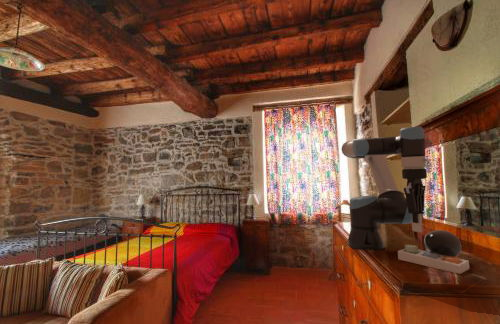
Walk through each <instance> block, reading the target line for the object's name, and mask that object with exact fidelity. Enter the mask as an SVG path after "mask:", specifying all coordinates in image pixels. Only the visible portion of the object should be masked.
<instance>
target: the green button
mask: <svg viewBox="0 0 500 324" xmlns="http://www.w3.org/2000/svg"><path fill="white" fill-rule="evenodd" d="M404 249H405V252H409V253H414V254H417V253H418V250H419V246H417V245H413V244H405V245H404Z"/></svg>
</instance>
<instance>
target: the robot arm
mask: <svg viewBox="0 0 500 324" xmlns="http://www.w3.org/2000/svg"><path fill="white" fill-rule="evenodd" d="M425 137H426V136H425V131H424V128H423V126H422V127H421V126H410V127H409V126H408V127H403V128H401V129H400V130H399V134H398V136H396V135H395V136H382V137H368V138H367V137H366V138H364V137H363V138H362V137H361V138H355V139H354V138H353V139H350V140H349V139H348V140H347V141H345V142H343V144H342V146H341V153H342V154H343V156H344V157H346V158H351V159H363V160H364V161H365V163H367V164H368V165H369V168H370V171H371V174H372V177H373V181H374V183H375V187H376V189H377V193H378V195H377V196H376V195H373V194H369V195H360V196H354V197H351V198H350V200H349V217H350V220H349V221H350V231H349V235H348V239H347V245H348V247H350V248H352V249H355V250H364V251H365V250H366V251H379V250H383V249H385V244H384V243H385V242H384V240H383V238H382V235H381V233H380V231H379V230H380V229H379V224H380V225H381V224H383V225H407V224H411V225H412V226H411V229H412V232H416V233H417V232H418V233H423V217H422V214H423V215H425V197H426V196H425V195H426V194H425V192H426V185H424V184H423V180H425V179H427V178H428V174H427V173H428V172H427V169H426V168H425V167H427V161H428V159H427V158H426V141H425V140H426V139H425ZM389 155H395V156H396V155H400V158H401V159H400V160H401V161H400V162H401V168H402V169H401V173H402V174H401V176H402V179H404V180H406V187H403V191H404V192H403V191H401V190H399V188H398V186H397V184H396V182H395V178H394V176H393V173H392V172H391V169H390V166H389V164H388V161H387V157H388V156H389Z"/></svg>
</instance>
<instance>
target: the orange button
mask: <svg viewBox="0 0 500 324" xmlns="http://www.w3.org/2000/svg"><path fill="white" fill-rule="evenodd" d="M460 259H461V258H459V257H458V256H456V257H453V256H444V261H447V262H452V263H456V264H459V263H460Z"/></svg>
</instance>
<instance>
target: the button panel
mask: <svg viewBox="0 0 500 324" xmlns="http://www.w3.org/2000/svg"><path fill="white" fill-rule="evenodd" d="M425 251H426V250H423V249H418V253H417V254H414V253H409V252H405V248H403V249H399V250H397V259H398V261H400V260H401V261H405V262H409V263H413V264H417V265H421V266H425V267H428V268H434V269H439V270H442V271H447V272H450V273H454V274H462V273H464V272H466V271H469V270H470V261H469V260H467V259H465V258H464V259H463V258H459V259H460V263H459V264H456V263H452V262H447V261H444V256H445V255H441V254H438V258H436V259H435V258H431V257H426V256H424V253H423V252H425Z"/></svg>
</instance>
